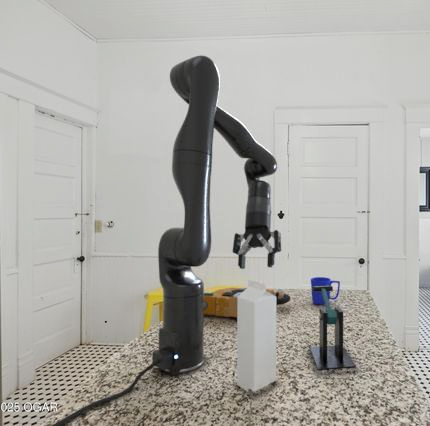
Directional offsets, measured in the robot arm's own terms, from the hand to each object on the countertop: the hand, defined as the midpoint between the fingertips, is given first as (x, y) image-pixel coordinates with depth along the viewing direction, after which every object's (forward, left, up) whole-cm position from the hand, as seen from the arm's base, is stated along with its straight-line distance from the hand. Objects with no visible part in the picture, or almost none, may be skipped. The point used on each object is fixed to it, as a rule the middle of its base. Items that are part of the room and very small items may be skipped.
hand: (255, 267), depth 88 cm
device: (+21, +22, -22) cm, 37 cm away
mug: (+46, +1, -22) cm, 51 cm away
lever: (+5, -20, -9) cm, 23 cm away
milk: (-17, -14, -22) cm, 31 cm away
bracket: (+1, -23, -21) cm, 32 cm away
